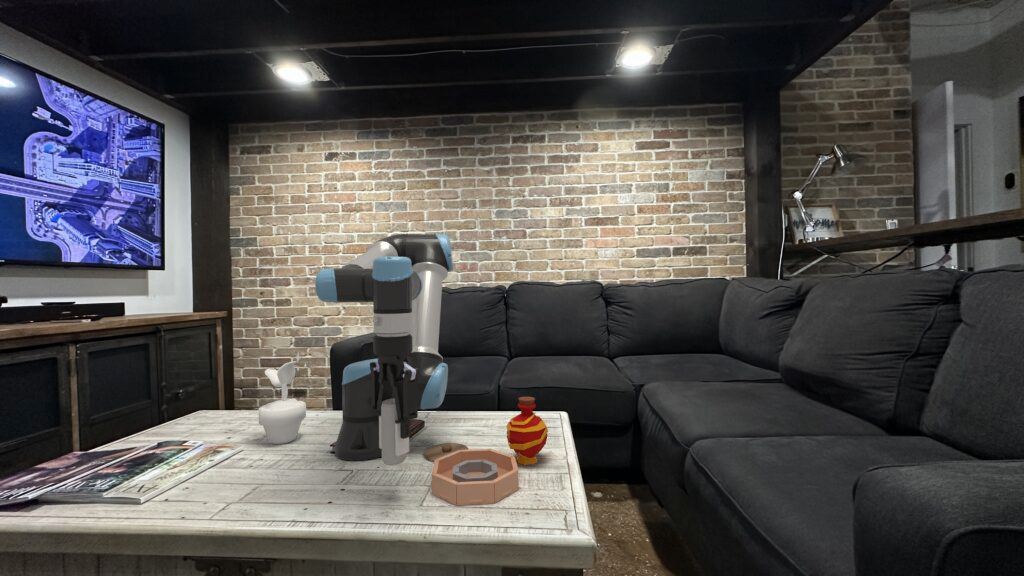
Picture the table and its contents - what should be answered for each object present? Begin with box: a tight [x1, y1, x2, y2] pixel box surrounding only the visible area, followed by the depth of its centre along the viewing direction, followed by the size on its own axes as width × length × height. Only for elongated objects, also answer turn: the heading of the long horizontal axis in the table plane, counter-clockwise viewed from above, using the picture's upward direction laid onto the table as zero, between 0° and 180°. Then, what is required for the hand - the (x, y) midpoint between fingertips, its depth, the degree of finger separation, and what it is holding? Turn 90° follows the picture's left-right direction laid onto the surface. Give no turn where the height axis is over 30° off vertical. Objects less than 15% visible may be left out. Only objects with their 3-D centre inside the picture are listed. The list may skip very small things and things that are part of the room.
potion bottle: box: [506, 396, 549, 466], centre depth 102 cm, size 10×10×15 cm
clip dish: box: [431, 448, 519, 506], centre depth 89 cm, size 18×18×4 cm
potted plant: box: [258, 352, 308, 445], centre depth 116 cm, size 13×12×25 cm
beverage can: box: [381, 398, 407, 466], centre depth 83 cm, size 5×5×12 cm
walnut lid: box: [424, 442, 470, 464], centre depth 105 cm, size 11×11×3 cm
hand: (394, 449), depth 83 cm, fingers closed on beverage can, 5 cm apart
